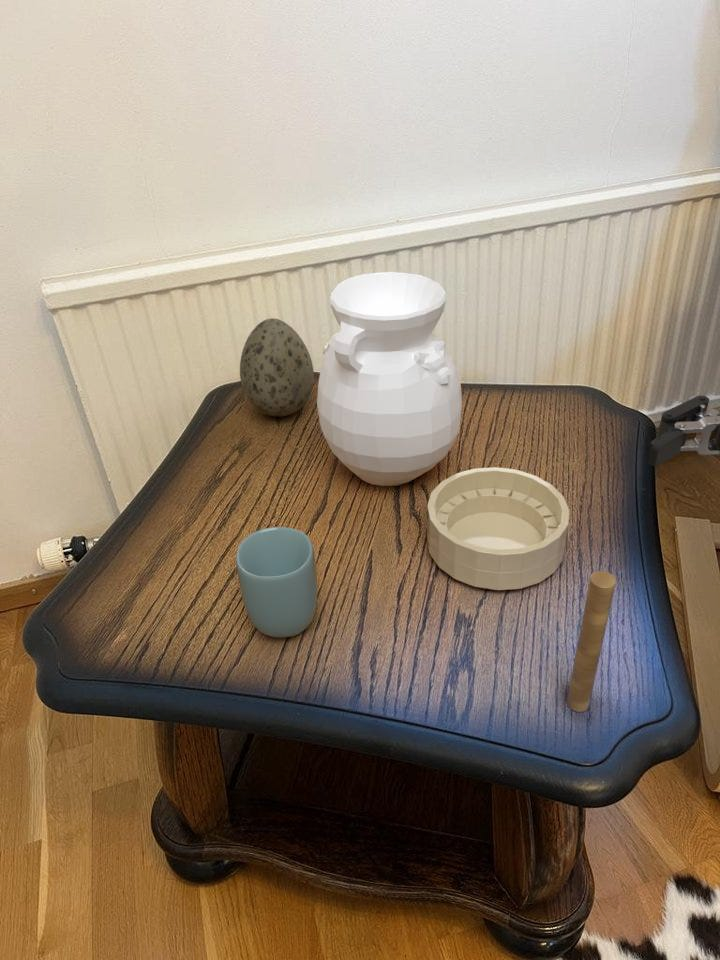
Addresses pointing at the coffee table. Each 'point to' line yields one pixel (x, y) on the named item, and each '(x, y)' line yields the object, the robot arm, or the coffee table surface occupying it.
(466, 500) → the bowl
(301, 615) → the cup
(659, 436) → the robot arm
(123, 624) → the coffee table surface
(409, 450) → the white vase
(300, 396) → the decorative egg
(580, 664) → the stick
